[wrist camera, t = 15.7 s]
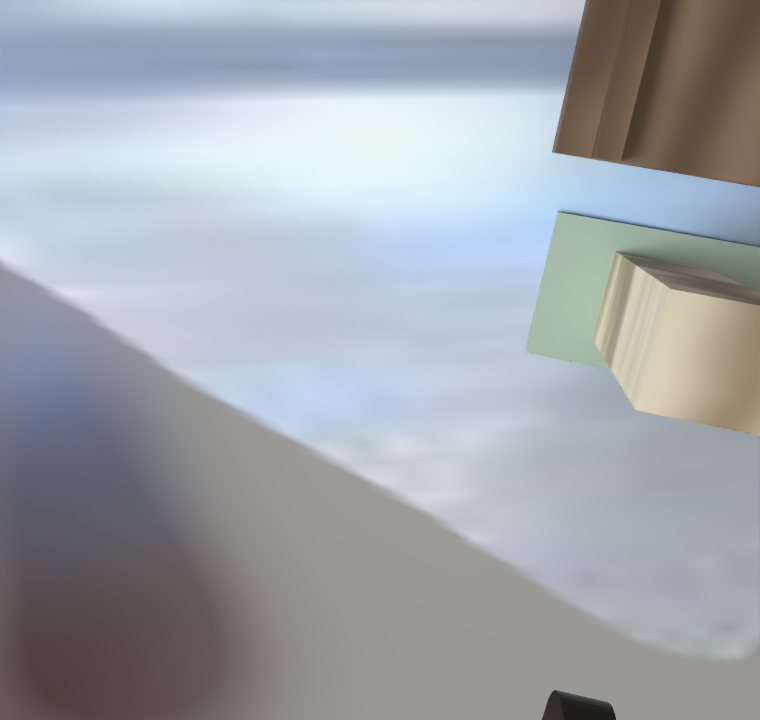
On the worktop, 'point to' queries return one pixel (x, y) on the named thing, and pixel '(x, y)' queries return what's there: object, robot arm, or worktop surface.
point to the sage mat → (592, 269)
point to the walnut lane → (667, 87)
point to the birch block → (682, 341)
